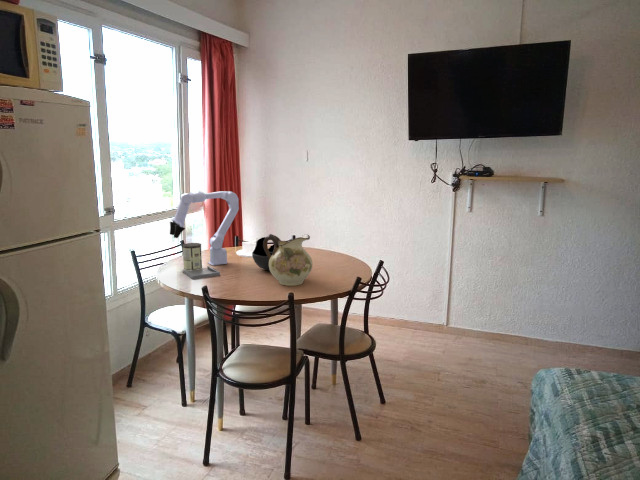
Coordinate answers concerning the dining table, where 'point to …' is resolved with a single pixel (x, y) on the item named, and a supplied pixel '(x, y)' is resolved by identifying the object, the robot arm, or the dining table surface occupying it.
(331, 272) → the dining table surface
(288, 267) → the pitcher
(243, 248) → the dish
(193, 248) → the coffee can
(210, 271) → the tray
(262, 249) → the bowl of black rocks
